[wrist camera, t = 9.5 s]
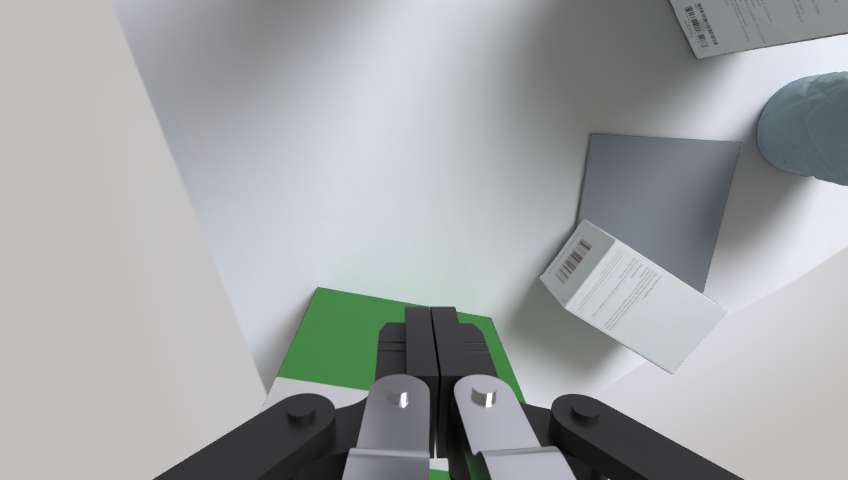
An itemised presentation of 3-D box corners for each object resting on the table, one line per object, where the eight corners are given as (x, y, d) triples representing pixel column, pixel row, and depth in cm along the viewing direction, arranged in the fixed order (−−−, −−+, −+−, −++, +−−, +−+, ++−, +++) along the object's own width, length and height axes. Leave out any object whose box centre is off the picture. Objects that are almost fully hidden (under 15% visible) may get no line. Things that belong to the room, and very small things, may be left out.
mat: (590, 133, 41) (592, 134, 40) (738, 141, 41) (741, 142, 41) (566, 286, 45) (568, 288, 44) (700, 291, 46) (702, 292, 45)
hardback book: (307, 352, 46) (211, 602, 23) (317, 287, 44) (224, 489, 21) (473, 379, 48) (538, 636, 25) (490, 317, 46) (580, 535, 23)
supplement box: (536, 277, 44) (632, 337, 46) (562, 309, 37) (674, 378, 39) (582, 215, 42) (679, 280, 45) (618, 236, 35) (732, 312, 38)
